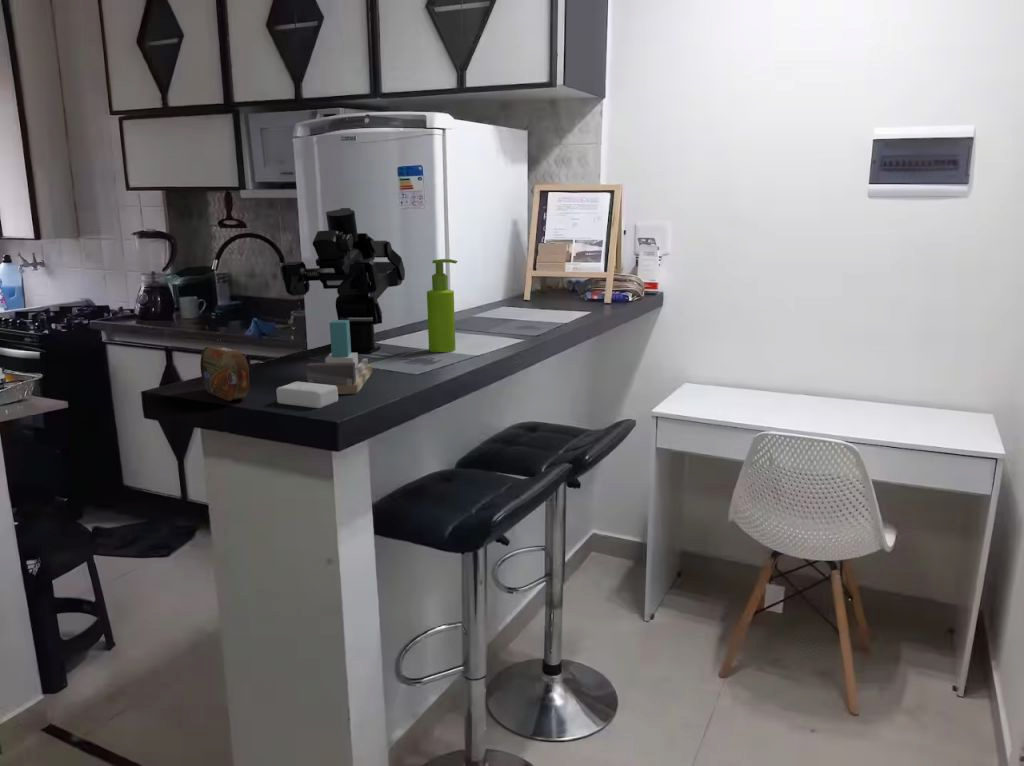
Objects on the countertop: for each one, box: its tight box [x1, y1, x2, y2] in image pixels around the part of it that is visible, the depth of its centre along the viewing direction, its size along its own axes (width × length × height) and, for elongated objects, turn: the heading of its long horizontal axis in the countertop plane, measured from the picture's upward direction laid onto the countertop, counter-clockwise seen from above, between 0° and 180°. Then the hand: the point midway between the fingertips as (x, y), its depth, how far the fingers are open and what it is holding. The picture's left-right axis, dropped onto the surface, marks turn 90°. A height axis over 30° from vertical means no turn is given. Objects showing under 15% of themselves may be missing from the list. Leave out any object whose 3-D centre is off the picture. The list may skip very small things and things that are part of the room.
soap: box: [276, 380, 339, 409], centre depth 126 cm, size 9×6×3 cm, turn 65°
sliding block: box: [324, 319, 359, 368], centre depth 140 cm, size 5×5×9 cm
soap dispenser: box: [426, 258, 459, 353], centre depth 167 cm, size 6×7×20 cm
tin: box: [199, 346, 250, 402], centre depth 130 cm, size 15×3×8 cm, turn 43°
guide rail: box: [305, 358, 373, 395], centre depth 139 cm, size 17×9×5 cm, turn 1°
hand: (314, 292), depth 142 cm, fingers open, 9 cm apart
